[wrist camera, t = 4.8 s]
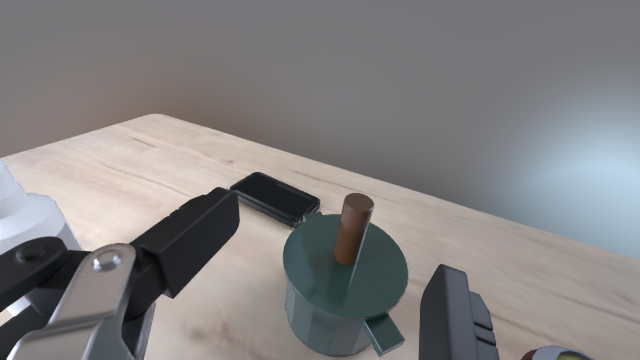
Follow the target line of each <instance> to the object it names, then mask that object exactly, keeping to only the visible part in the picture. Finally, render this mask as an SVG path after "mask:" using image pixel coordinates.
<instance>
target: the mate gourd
mask: <svg viewBox="0 0 640 360" xmlns="http://www.w3.org/2000/svg"><path fill="white" fill-rule="evenodd" d="M521 360H595V359H593V358H591V357H589V356H588V355H586V354H584V353H582V352H580V351H577V350H573V349H569V348H565V347H561V346H555V345H550V346H545V347H540V348H538V349H536V350H531V351H530V352H528V353H526V354H525V355H524V356H523V358H522V359H521Z"/></svg>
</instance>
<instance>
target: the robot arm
mask: <svg viewBox="0 0 640 360" xmlns="http://www.w3.org/2000/svg"><path fill="white" fill-rule="evenodd" d="M239 222H240V218H239V204H238V195H237V193H236V192H233V191H230V190H227V189H224V188H221V187H217V188H215V189H214V190H212V191H211V192H210V193H208V194H207V195H201V196H198V197H196V198H193V199H191V200H189V201H188V202H186V203H185V204H183V205H182V206H181V207H179V209H178V210H177V209H176V210H175V211H174V212H172V213H171V214H170V216H167V217H165V218H164V219H163V220H161V221H160V222H158V223H157V224H156V225H154V226H153V227H152V228H150V229H149V230H147V231H146V232H145V233H143V234H142V235H140V236H139V237H138V238H136V239H135V240H134V241H132V242H131V243H129V244H125V243H115V244H110V245H106V246H103V247H101V248H99V249H97V250H95V251H93V252H91V251H78V250H68V248H67V247H66V245H65V243H64V242H63V240H62V239H60V238H58V237H53V236H46V237H39V238H35V239H31V240H29V241H26V242H24V243H21V244H19V245H17V246H15V247H14V248H12V249H10V250H8V251H6V252H5V253H3V254H1V255H0V312H2V311H3V310H4V309H6V308H7V307H9V306H10V305H12V304H13V303H14V302H16V301H17V300H19V299H20V298H21V297H23V296H24V297H25V298H26V299H27V301H28V302H29V303H30V305H29V306H28V307H26V308H25V309H24V310H22V311H21V312H19V313H18V314H17V315H15V316H14V317H13V318H11V319H10V320H9V321H7V322H6V323H5V324H3V325H2V326H1V327H0V360H144V356H145V351H146V347H147V342H148V338H149V333H150V329H151V324H152V320H153V315H154V311H155V306H156V301H155V300H156V299H157V298H158V297H159V296H160V295H161V294H164V295H166V296H168V297H170V298H172V299H174V297H175V296H176V295H177V294H178V293H179V292H180V291H181V290H182V289H183V288H184V287H185V286H186V285H187V284H188V283H189V282H190V280H191V279H192V278H193V277H194V276H195V275H196V274H197V273H198V272H199V271H200V270H201V269H202V268H203V267H204V266H205V265H206V263H207V262H208V261H209V260H210V259H211V258H212V257H213V256H214V255H215V254H216V253H217V252H218V251H219V250H220V249H221V248H222V246H223V245H224V244H225V243H226V242H227V241H228V240H229V239H230V238H231V237H232V236H233V235H234V234H235V232H236V231H237V229H238V226H239ZM419 360H500V359H499V355H498V350H497V348H496V341H495V336H494V333H493V326H492V322H491V317H490V312H489V310H488V308H487V307H486V305H485V303H484V302H483V300H482V298H481V297H480V295H479V294H477V293H474V292H471V291H469V287H468V280H467V275H466V273H465V272H463V271H460V270H457V269H454V268H451V267H449V266H446V265H443V264H440V265H439V266H438V268H437V269H436V271H435V273H434V275H433V276H432V278H431V280H430V282H429V283H428V285H427V287H426V288H425V290H424V293H423V296H422V299H421V305H420V333H419Z"/></svg>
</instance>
